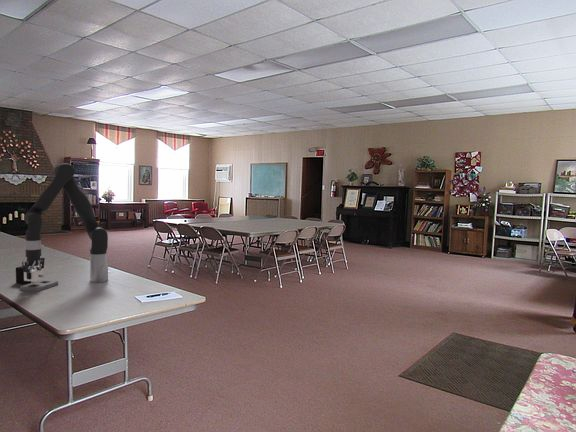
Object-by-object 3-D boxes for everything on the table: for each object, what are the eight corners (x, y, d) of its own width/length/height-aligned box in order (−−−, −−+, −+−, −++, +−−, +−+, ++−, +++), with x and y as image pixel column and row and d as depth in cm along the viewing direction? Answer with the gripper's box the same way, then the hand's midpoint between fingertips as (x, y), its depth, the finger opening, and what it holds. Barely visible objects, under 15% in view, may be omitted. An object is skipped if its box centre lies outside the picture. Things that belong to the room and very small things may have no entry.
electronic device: (28, 285, 237) (28, 268, 237) (15, 284, 241) (15, 267, 240) (35, 284, 241) (34, 267, 241) (22, 282, 245) (22, 265, 244)
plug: (46, 282, 232) (46, 270, 231) (38, 285, 226) (38, 272, 225) (32, 281, 233) (32, 269, 232) (24, 284, 227) (23, 271, 226)
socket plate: (58, 285, 241) (58, 281, 241) (37, 292, 225) (37, 288, 225) (41, 283, 243) (41, 279, 242) (19, 290, 227) (19, 286, 227)
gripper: (29, 250, 220) (29, 281, 222) (49, 246, 234) (49, 275, 236) (17, 249, 221) (17, 280, 223) (37, 245, 235) (37, 274, 237)
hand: (33, 277), depth 229 cm, fingers closed on plug, 6 cm apart
